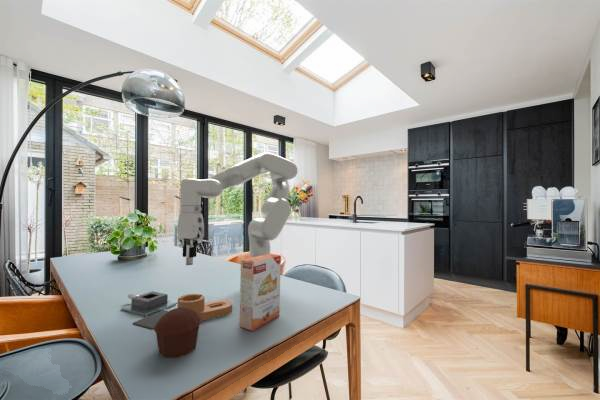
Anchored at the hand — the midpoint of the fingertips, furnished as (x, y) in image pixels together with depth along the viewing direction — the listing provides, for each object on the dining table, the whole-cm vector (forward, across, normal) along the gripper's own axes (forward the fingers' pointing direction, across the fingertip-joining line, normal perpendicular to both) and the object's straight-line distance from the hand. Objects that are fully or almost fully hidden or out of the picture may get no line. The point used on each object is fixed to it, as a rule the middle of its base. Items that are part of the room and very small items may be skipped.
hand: (189, 256), depth 105 cm
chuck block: (+17, +9, +11) cm, 23 cm away
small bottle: (+3, 0, 0) cm, 3 cm away
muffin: (+18, -25, +27) cm, 41 cm away
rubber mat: (+17, -5, +17) cm, 25 cm away
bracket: (+18, -16, +8) cm, 25 cm away
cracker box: (+17, -36, +4) cm, 40 cm away
